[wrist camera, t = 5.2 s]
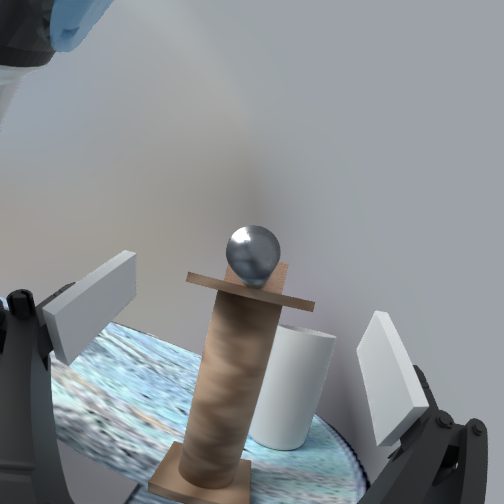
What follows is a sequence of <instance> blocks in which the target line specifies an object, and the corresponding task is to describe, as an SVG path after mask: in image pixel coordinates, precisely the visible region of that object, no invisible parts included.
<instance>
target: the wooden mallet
mask: <svg viewBox="0 0 504 504" xmlns="http://www.w3.org/2000/svg"><path fill="white" fill-rule="evenodd" d="M226 257H227V260H228V266H227V270H226V274H225V278H224V281H226V282H230V283H234V284H238V285H242V286H247V287H251V288H255V289H259V290H263V291H268V292H272V293H276V294H282V290H283V286H284V282H285V276H286V273H287V268H288V263H284V262H280V261H279V259H280V246H279V242H278V240H277V238H276V237H275V236H274V234H273V233H271V232H270V231H269V230H267V229H266V228H263V227H260V226H246V227H243V228H241V229H239V230H238V231H236V232H235V233H234V234H233V235H232V236H231V238H230V239H229V241H228V244H227V248H226Z"/></svg>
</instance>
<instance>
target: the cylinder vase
mask: <svg viewBox="0 0 504 504" xmlns="http://www.w3.org/2000/svg"><path fill="white" fill-rule="evenodd" d="M336 339H337V337H336V336H333V335H329V334H326V333H322V332H318V331H313V330H309V329H305V328H299V327H295V326H289V325H283V324H278V326H277V330H276V334H275V338H274V342H273V346H272V350H271V354H270V358H269V361H268V365H267V369H266V373H265V376H264V380H263V384H262V387H261V391H260V394H259V398H258V401H257V405H256V408H255V412H254V415H253V419H252V422H251V425H250V429H249V432H248V433H249V435H250V437H251V438H252V439H253V440H254V441H256V442H257V443H259V444H261V445H263V446H265V447H268V448H271V449H276V450H292V449H296V448H298V447H300V446H301V445H302V444H303V443H304V441H305V438H306V436H307V433H308V430H309V428H310V425H311V422H312V419H313V416H314V413H315V410H316V407H317V404H318V401H319V398H320V395H321V392H322V388H323V385H324V382H325V379H326V375H327V372H328V369H329V365H330V361H331V358H332V354H333V350H334V347H335V342H336Z"/></svg>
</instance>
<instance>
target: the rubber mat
mask: <svg viewBox="0 0 504 504" xmlns="http://www.w3.org/2000/svg"><path fill="white" fill-rule="evenodd" d="M57 443H58V449H59V454H60V459H61V464H62V468H63V473H64V477H65V481H66V484H67V488H68V491H69V494H70V496H71V498H72V500H73V502H74V503H75V504H125V503H126V502H127V500H128V499H129V497H130V496H131V495H132V493H133V492H134V490H135V489H136V487H137V486H138V482H136V481H134V480H132V479H129V478H127V477H125V476H123V475H121V474H118V473H116V472H114V471H112V470H110V469H108V468H106V467H104V466H102V465H100V464H98V463H97V462H95V461H93V460H91V459H89V458H88V457H86V456H84V455H82V454H81V453H79V452H77V451H76V450H74V449H72V448H71V447H69V446H68V445H66V444H65V443H63V442H61V441H60V440H58V439H57Z"/></svg>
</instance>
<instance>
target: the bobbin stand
mask: <svg viewBox="0 0 504 504" xmlns="http://www.w3.org/2000/svg"><path fill="white" fill-rule="evenodd" d="M186 281H187V282H190V283H194V284H197V285H202V286H205V287H209V288H213V289H217V290H218V292H217V296H216V300H215V305H214V309H213V313H212V317H211V321H210V326H209V330H208V334H207V338H206V342H205V346H204V351H203V355H202V359H201V364H200V368H199V372H198V377H197V381H196V386H195V390H194V395H193V399H192V404H191V409H190V413H189V418H188V423H187V428H186V432H185V437H184V442H183V444H182V443H179V442H176V441H174V442H173V444H172V446H171V447H170V449H169V451H168V452H167V454H166V455H165V457H164V459H163V460H162V462H161V463H160V465H159V466H158V468H157V470H156V471H155V473H154V474H153V476H152V477H151V479H150V481H149V482H148V491H149V492H151V493H154V494H157V495H159V496H162V497H165V498H168V499H171V500H174V501H177V502H181V503H184V504H250V481H251V461H250V460H245V459H240V458H241V455H242V451H243V448H244V445H245V442H246V439H247V435H248V432H249V429H250V425H251V422H252V419H253V415H254V412H255V408H256V405H257V401H258V398H259V394H260V391H261V387H262V384H263V380H264V376H265V373H266V369H267V365H268V361H269V358H270V354H271V350H272V346H273V342H274V338H275V334H276V330H277V326H278V322H279V318H280V314H281V309H282V306H288V307H292V308H297V309H301V310H306V311H311V312H313V309H314V305H315V302H312V301H307V300H303V299H298V298H294V297H289V296H285V295H281V294H276V293H272V292H268V291H263V290H259V289H255V288H251V287H247V286H242V285H238V284H234V283H230V282H226V281H222V280H218V279H214V278H210V277H206V276H203V275H199V274H194V273H191V272H188V275H187V279H186Z"/></svg>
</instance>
